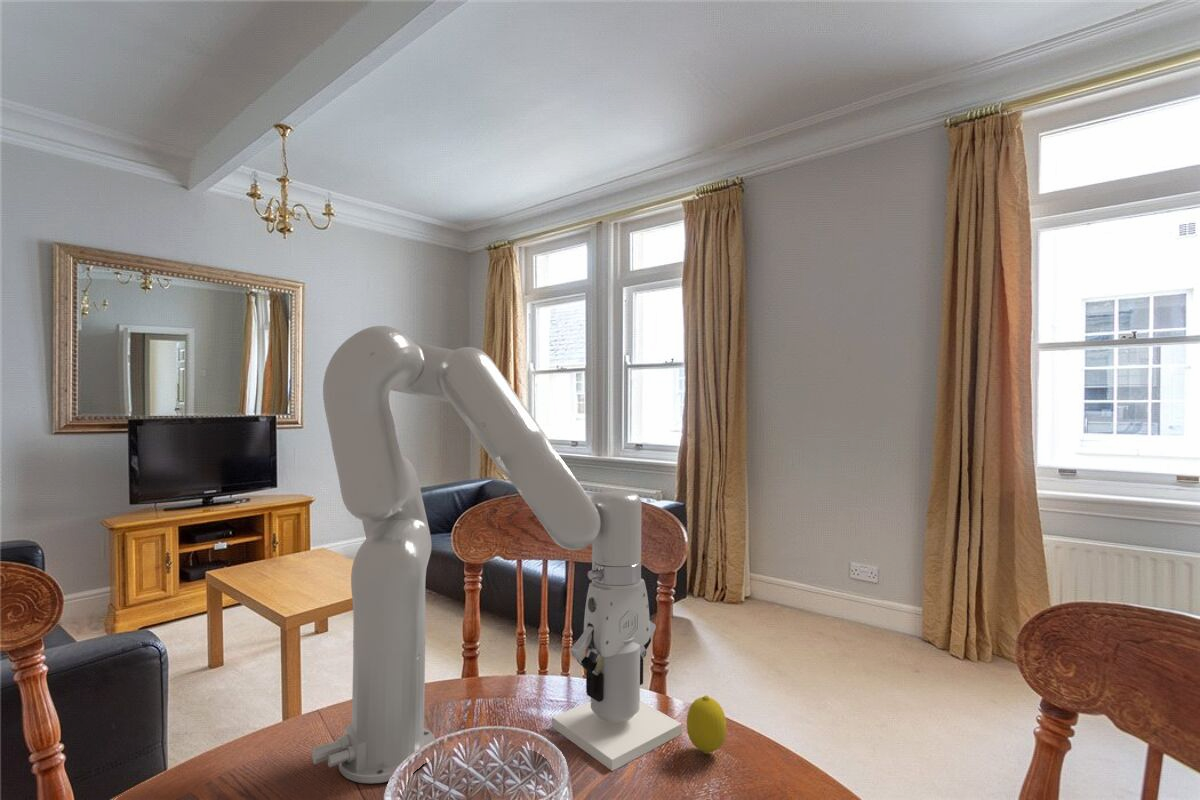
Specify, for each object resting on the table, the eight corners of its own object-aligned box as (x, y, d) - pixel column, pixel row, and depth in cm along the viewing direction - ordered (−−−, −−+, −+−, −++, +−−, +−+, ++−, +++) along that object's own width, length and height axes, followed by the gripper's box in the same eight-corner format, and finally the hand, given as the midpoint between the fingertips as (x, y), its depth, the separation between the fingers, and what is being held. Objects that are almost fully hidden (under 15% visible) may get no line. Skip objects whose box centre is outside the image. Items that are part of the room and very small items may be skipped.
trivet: (612, 771, 75) (612, 759, 75) (551, 726, 86) (552, 716, 86) (681, 733, 84) (681, 723, 84) (619, 698, 95) (619, 689, 95)
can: (636, 728, 81) (637, 643, 81) (585, 722, 82) (587, 639, 83) (641, 702, 88) (642, 625, 89) (595, 697, 90) (596, 621, 90)
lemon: (726, 767, 76) (726, 708, 77) (685, 762, 77) (685, 703, 78) (725, 744, 82) (725, 689, 82) (687, 740, 83) (687, 685, 83)
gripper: (587, 589, 77) (586, 719, 77) (673, 568, 89) (672, 682, 88) (556, 577, 83) (554, 698, 83) (640, 559, 94) (639, 665, 94)
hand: (615, 688), depth 85 cm, fingers closed on can, 7 cm apart
